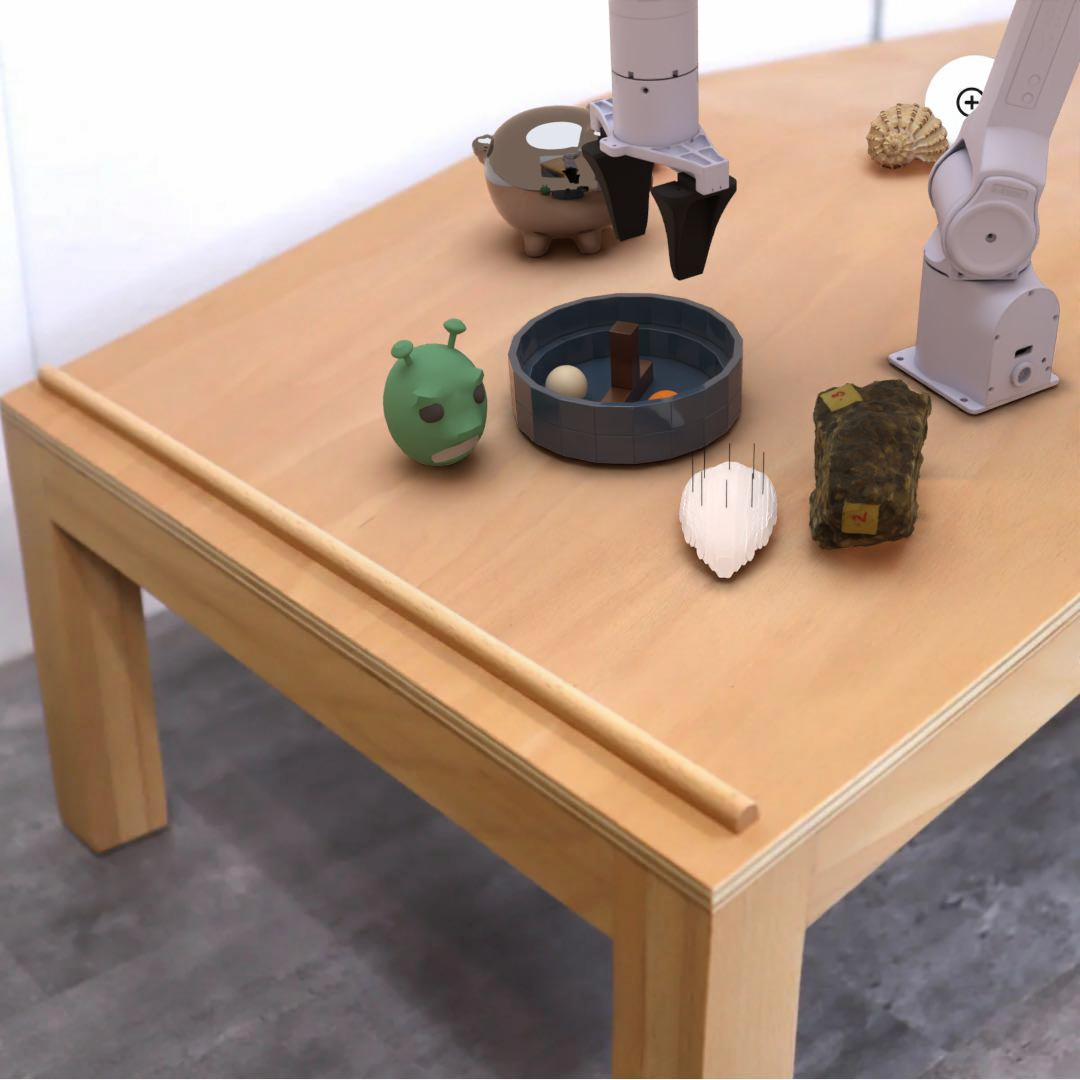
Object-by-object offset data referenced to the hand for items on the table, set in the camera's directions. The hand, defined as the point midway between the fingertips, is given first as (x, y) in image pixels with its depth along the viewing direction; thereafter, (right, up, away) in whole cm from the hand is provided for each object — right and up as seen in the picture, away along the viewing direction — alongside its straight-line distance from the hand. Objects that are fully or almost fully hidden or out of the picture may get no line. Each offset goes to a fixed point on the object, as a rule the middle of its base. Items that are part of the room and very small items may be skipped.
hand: (659, 255), depth 112 cm
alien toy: (-15, -15, -3) cm, 21 cm away
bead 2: (0, -11, -3) cm, 12 cm away
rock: (+12, -19, -11) cm, 25 cm away
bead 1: (-7, -9, +1) cm, 11 cm away
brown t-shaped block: (-2, -10, +1) cm, 11 cm away
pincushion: (+4, -19, -11) cm, 22 cm away
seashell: (+25, +15, +35) cm, 45 cm away
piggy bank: (-6, +6, +25) cm, 26 cm away
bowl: (-2, -11, +1) cm, 11 cm away
